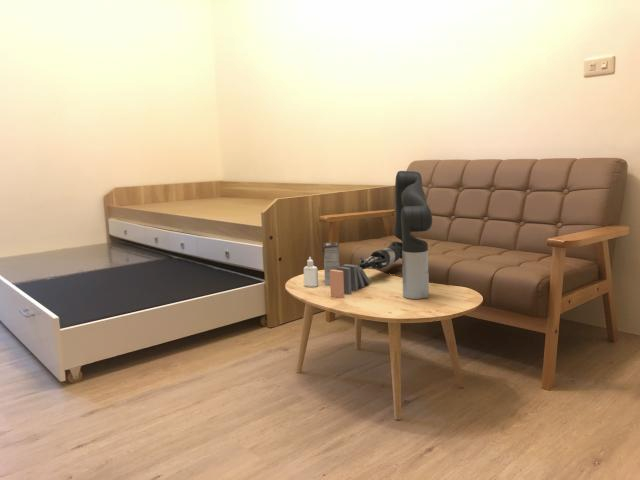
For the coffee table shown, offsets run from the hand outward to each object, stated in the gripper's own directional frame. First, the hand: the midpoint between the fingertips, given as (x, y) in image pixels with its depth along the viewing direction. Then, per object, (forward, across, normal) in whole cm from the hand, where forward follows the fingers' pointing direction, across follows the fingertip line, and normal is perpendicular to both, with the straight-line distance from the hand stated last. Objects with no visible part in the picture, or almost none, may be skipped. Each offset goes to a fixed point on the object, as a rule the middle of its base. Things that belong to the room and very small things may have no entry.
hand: (361, 266), depth 212 cm
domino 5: (-2, 0, +7) cm, 7 cm away
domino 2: (+13, 0, +8) cm, 15 cm away
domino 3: (+8, 0, +8) cm, 11 cm away
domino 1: (+18, 0, +8) cm, 19 cm away
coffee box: (+2, -13, +8) cm, 15 cm away
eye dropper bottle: (+11, -18, +8) cm, 22 cm away
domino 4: (+3, 0, +7) cm, 8 cm away
